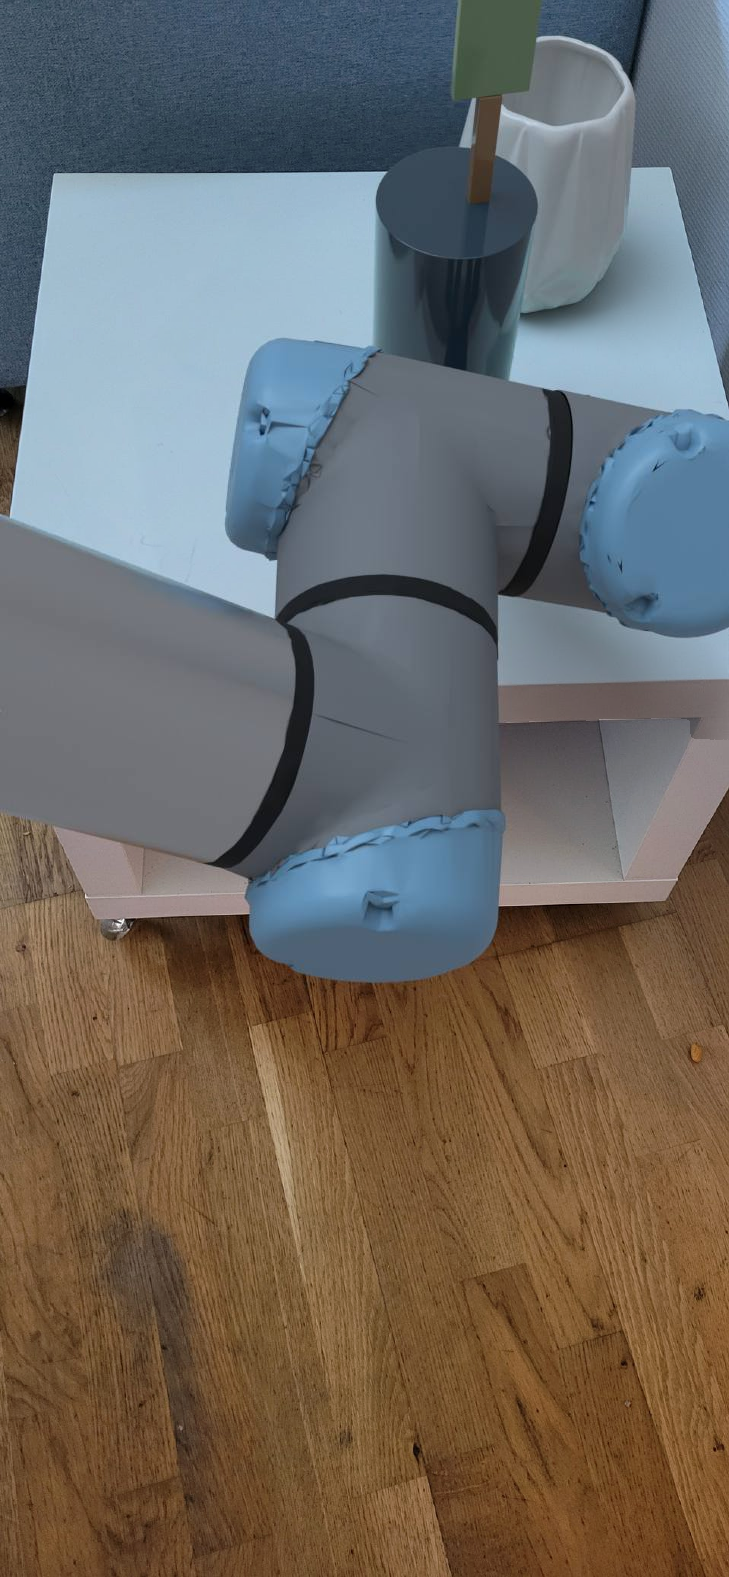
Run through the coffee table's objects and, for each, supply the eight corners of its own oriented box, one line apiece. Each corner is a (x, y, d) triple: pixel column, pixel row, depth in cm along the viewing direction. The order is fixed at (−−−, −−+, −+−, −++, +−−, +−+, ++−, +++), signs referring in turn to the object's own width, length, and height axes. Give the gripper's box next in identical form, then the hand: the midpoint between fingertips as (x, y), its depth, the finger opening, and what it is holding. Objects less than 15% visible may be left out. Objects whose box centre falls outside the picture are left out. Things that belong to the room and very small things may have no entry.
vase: (641, 242, 93) (691, 55, 80) (570, 354, 88) (611, 176, 74) (486, 184, 96) (509, -6, 82) (408, 290, 91) (418, 106, 77)
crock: (384, 528, 81) (405, 41, 50) (358, 431, 85) (362, -77, 54) (507, 507, 82) (601, 17, 51) (475, 412, 86) (546, -98, 55)
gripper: (702, 386, 51) (548, 385, 73) (418, 431, 50) (349, 416, 72) (708, 552, 54) (558, 504, 76) (438, 598, 53) (365, 535, 75)
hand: (456, 461), depth 74 cm, fingers closed
